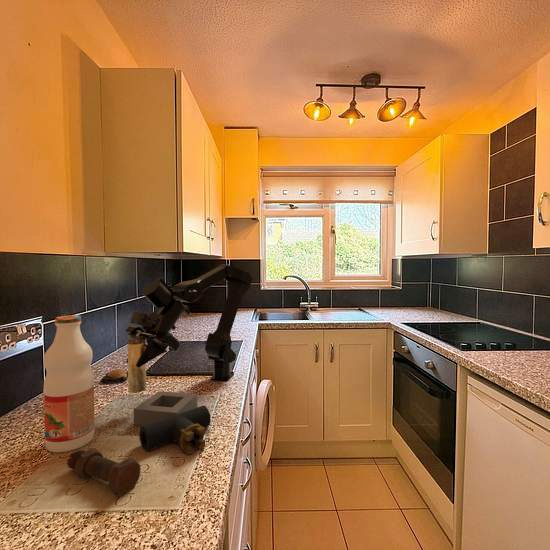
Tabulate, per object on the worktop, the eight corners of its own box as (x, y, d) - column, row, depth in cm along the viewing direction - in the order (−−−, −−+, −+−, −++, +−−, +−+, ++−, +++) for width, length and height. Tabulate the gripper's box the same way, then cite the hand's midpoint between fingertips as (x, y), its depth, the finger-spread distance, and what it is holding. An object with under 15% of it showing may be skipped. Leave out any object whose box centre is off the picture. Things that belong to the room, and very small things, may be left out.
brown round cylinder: (132, 386, 88) (131, 336, 88) (148, 386, 89) (147, 336, 88) (125, 393, 84) (124, 340, 84) (142, 392, 84) (141, 339, 84)
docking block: (159, 405, 90) (158, 391, 90) (197, 408, 88) (196, 394, 88) (134, 424, 79) (133, 408, 79) (176, 429, 77) (176, 412, 77)
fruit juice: (94, 446, 69) (92, 318, 69) (41, 458, 65) (38, 321, 64) (95, 427, 78) (93, 312, 77) (48, 437, 73) (45, 315, 72)
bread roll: (104, 377, 115) (104, 366, 115) (130, 374, 117) (130, 364, 117) (99, 387, 105) (98, 376, 105) (127, 384, 107) (127, 373, 107)
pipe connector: (226, 416, 72) (162, 442, 62) (226, 440, 72) (162, 469, 62) (199, 402, 81) (139, 422, 70) (199, 423, 81) (139, 446, 70)
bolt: (79, 475, 63) (133, 496, 56) (55, 475, 59) (110, 498, 52) (91, 442, 65) (145, 459, 59) (69, 440, 61) (124, 458, 55)
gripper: (130, 298, 94) (92, 343, 86) (169, 302, 83) (130, 354, 75) (155, 320, 101) (121, 364, 92) (194, 327, 90) (160, 377, 81)
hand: (132, 364), depth 85 cm, fingers closed on brown round cylinder, 4 cm apart
